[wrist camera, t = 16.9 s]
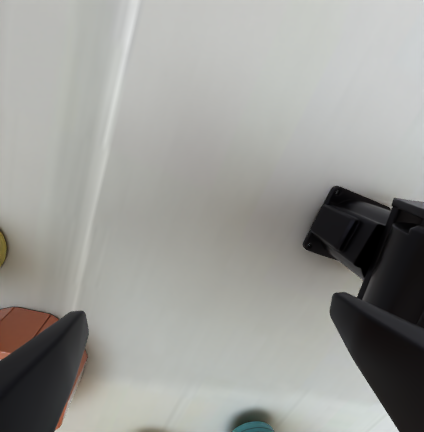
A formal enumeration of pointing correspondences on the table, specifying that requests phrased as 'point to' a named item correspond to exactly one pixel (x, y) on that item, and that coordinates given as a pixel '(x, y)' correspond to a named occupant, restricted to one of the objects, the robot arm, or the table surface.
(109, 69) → the table surface
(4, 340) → the terracotta ring
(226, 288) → the table surface
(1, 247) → the vase
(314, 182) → the table surface
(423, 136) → the table surface
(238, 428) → the beverage bottle
